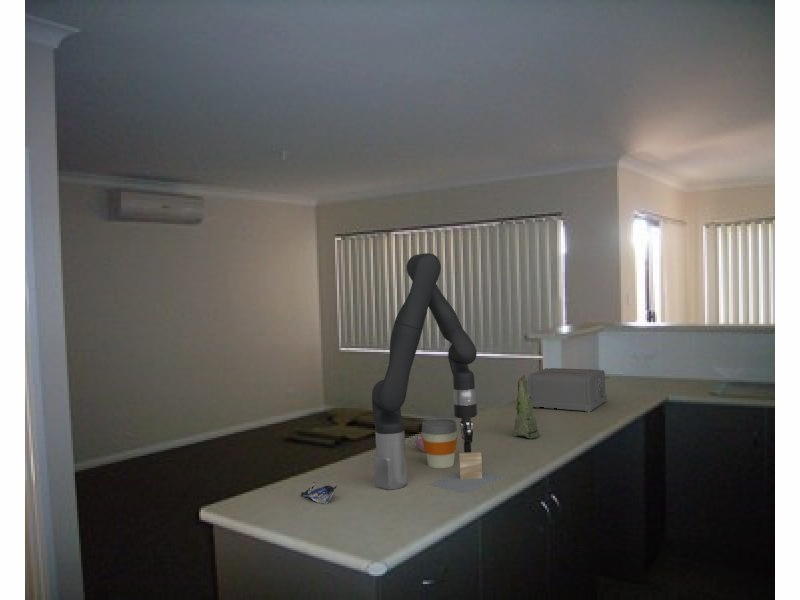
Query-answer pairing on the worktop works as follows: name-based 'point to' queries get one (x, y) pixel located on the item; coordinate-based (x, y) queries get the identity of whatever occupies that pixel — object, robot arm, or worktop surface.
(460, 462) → the birch tile
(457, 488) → the rubber mat
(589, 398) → the toaster
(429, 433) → the reusable coffee cup
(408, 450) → the worktop surface
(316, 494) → the snack package
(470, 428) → the robot arm
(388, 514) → the worktop surface
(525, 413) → the green rock spire
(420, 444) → the video game controller
